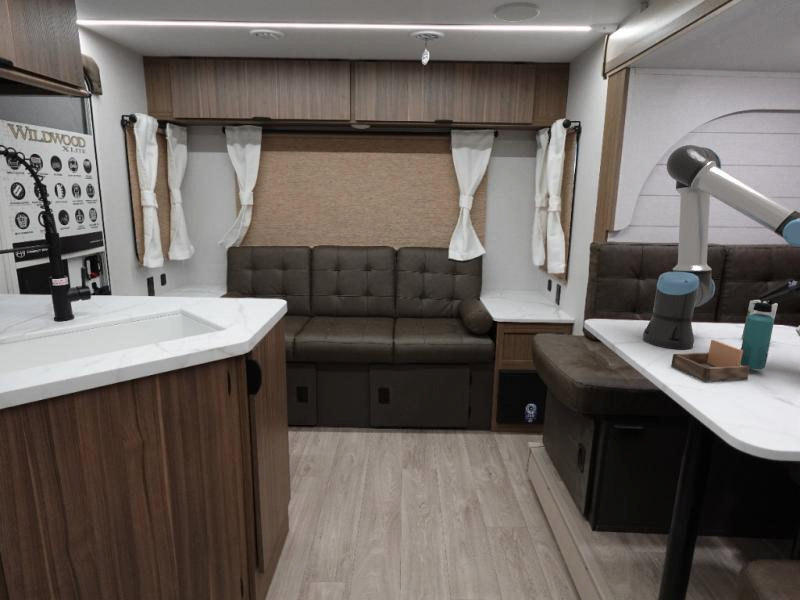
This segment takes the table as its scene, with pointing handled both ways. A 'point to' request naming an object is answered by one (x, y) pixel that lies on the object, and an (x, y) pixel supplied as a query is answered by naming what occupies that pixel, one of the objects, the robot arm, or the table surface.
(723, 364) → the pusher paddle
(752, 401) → the table surface
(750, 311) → the syrup box
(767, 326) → the beverage bottle
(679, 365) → the wooden tray
